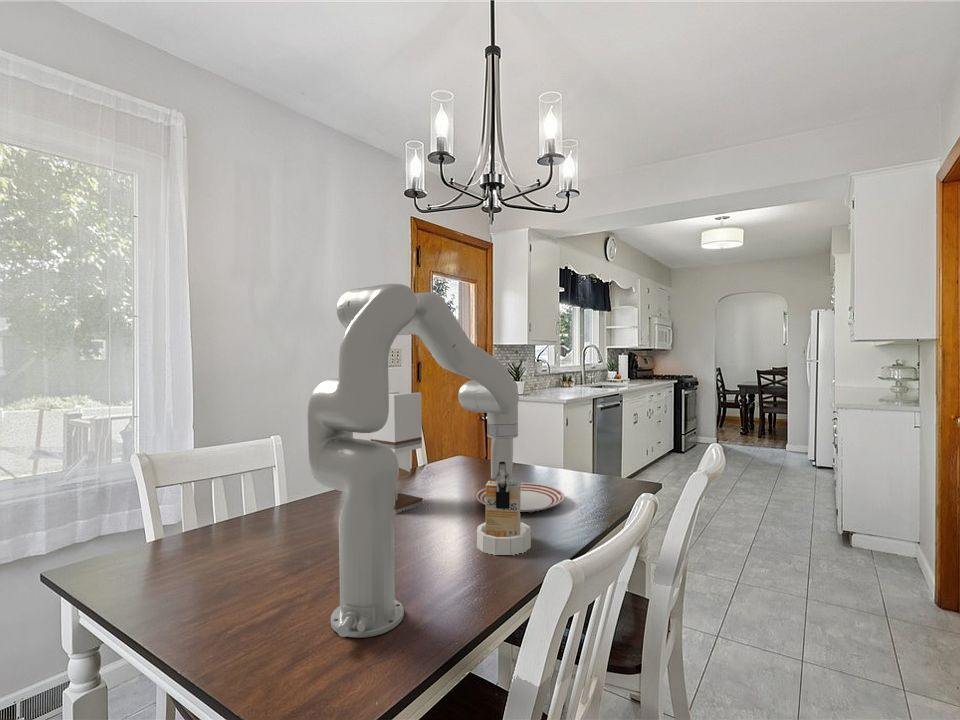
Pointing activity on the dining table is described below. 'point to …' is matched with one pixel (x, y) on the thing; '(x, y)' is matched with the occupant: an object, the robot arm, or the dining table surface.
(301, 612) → the dining table surface
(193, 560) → the dining table surface
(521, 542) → the white faceted ring
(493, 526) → the supplement box
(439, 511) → the dining table surface
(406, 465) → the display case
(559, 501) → the dinner plate
